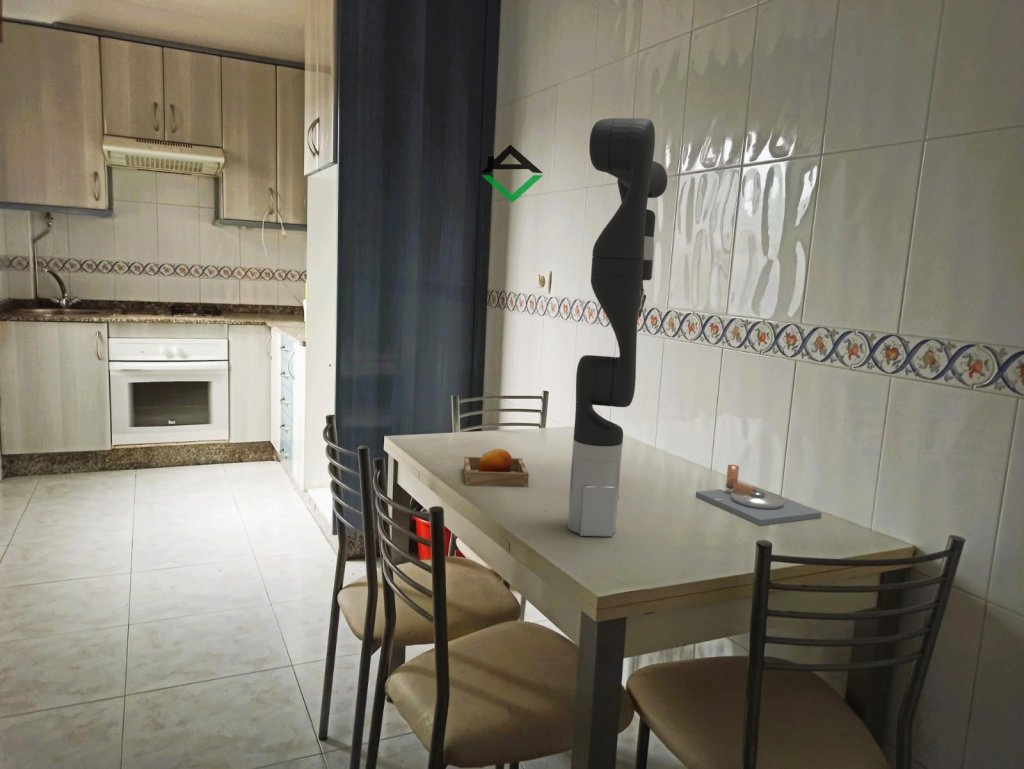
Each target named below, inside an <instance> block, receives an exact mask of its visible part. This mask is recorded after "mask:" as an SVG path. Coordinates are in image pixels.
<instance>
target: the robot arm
mask: <svg viewBox="0 0 1024 769" xmlns="http://www.w3.org/2000/svg"><path fill="white" fill-rule="evenodd" d="M655 131H656V129H655V124H654V123H653V121H652V120H651V119H649V118H647V117H646V118H644V117H633V118H632V117H620V118H617V117H616V118H615V117H614V118H612V117H611V118H602V119H600V120H598V121H596V122H595V124H594V125H593V127H592V128H591V132H590V137H589V145H588V146H589V147H588V148H589V158H590V162H591V164H592V166H593V168H594V169H595V170H596V171H599V172H603V173H607V174H608V175H610V176H613V177H615V178H616V179H617V180H616V182H617V186H618V190H619V196H620V200H621V201H620V202H621V204H620V205H619V207H618V209H617V210H616V212H615V213H614V214H613V216H612V217H611V219H610V220H609V222H608V223H607V224H606V226H605V227H604V228H603V229H602V231H601V232H600V234H599V236H598V237H597V239H596V241H595V242H594V245H593V248H592V257H591V258H592V259H591V270H590V271H591V272H590V284H591V288H592V292H593V294H594V296H595V297H596V300H597V301H598V304H599V305H600V307H601V309H602V311H603V312H604V313H605V316H606V317H607V319H608V322H609V323H610V325H611V328H612V330H613V333H614V336H615V338H616V342H617V346H618V349H619V350H618V351H619V356H609V355H608V356H606V355H594V354H593V355H592V354H586V355H583V356H581V357H580V358H579V361H578V363H577V368H576V373H575V375H576V376H575V411H574V412H575V414H574V428H573V438H572V439H573V440H572V441H573V443H572V454H571V469H570V483H569V496H568V498H569V499H568V511H567V512H568V515H567V528H568V530H570V531H572V532H574V533H576V534H578V535H579V536H581V537H613V534H615V532H616V530H617V517H618V506H619V505H618V502H619V492H620V490H619V489H620V476H621V467H622V466H621V465H622V454H623V442H624V430H623V428H622V427H621V426H620V425H618V424H617V423H614V422H612V421H609V420H608V419H607V418H604V417H603V416H602V415H600V414H598V413H597V412H596V411H595V409H594V408H593V406H603V407H613V408H614V407H615V408H627V407H629V406H630V405H631V404H632V402H633V400H634V395H635V390H636V382H637V381H636V379H637V376H636V375H637V346H638V345H637V341H638V340H637V338H638V320H639V318H640V317H641V316H642V312H643V309H644V307H645V303H646V300H647V294H645V288H644V281H651V280H652V277H653V267H654V266H653V265H654V255H655V254H654V253H655V241H654V240H655V239H654V237H655V228H656V214H655V212H654V210H650V209H647V208H648V201H649V200H648V199H656V198H659V197H660V196H662V195H663V194H664V193H665V192H666V189H667V187H668V174H667V171H666V169H665V167H664V166H663V165H662V164H661V163H659V162H657V161H654V154H655V149H656V148H655V147H656V146H655V145H656V144H655V143H656V132H655Z"/></svg>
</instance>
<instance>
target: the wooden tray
mask: <svg viewBox="0 0 1024 769" xmlns="http://www.w3.org/2000/svg"><path fill="white" fill-rule="evenodd" d="M481 457H482V456H464V457H463V458H464V459H463V460H464V461H463V473H464V480H465V481H464V482H465V486H478V487H479V486H480V487H481V486H482V487H483V486H485V487H512V488H513V487H516V488H517V487H520V488H524V487H525V488H529V477H530V476H529V474H530V473H529V471H528V469H527V467H526V465H525V462H524V460H523V458H520V457H519V458H518V457H515V458H513V457H512V468H511V471H510V472H480V471H478V464H479V461H480V459H481Z"/></svg>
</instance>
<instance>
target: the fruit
mask: <svg viewBox="0 0 1024 769" xmlns="http://www.w3.org/2000/svg"><path fill="white" fill-rule="evenodd" d="M480 457H481V459H480V461H479V464H478V470H477V471H480V472H512V471H511V468H512V458H513V457H512V455H511V454H510V453H509V452H508V451H507V450H505V449H501V448H495V449H494V448H493V449H492V450H488V451H487V452H484V453H483V454H482V456H480Z"/></svg>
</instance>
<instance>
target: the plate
mask: <svg viewBox="0 0 1024 769" xmlns="http://www.w3.org/2000/svg"><path fill="white" fill-rule="evenodd" d="M751 486H752V487H756V489H757V490H764V489H762V488H759V487H757V486H754V485H751ZM733 490H734V489H729V488H719V489H718V488H717V489H710V490H708V489H707V490H700V491H696V492H695V497H696V498H698V499H700V500H702V501H703V502H706V503H709V504H710V505H713V506H715V507H717V508H720V509H722V510H724V511H727V512H729V513H731V514H733V515H736V516H738V517H740V518H741V519H744V520H747V521H749V522H751V523H753V524H755V525H757V526H761V527H762V526H769V525H778V524H783V523H790V522H791V523H793V522H800V521H807V520H814V519H815V518H816V519H821V518H822V511H819V510H816V509H814V508H812V507H809V506H806V505H803V504H802V503H798V502H795V501H794V500H790V499H788V498H785V497H783V498H784V506H783V507H782V508H779V509H758V508H752V507H747V506H743V505H740V504H738V503H736V502H734V501H732V499H731V492H732V491H733ZM764 491H766V490H764ZM820 517H821V518H820Z"/></svg>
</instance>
